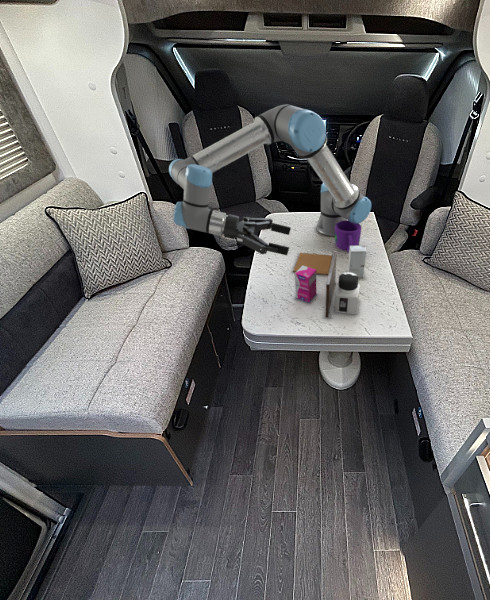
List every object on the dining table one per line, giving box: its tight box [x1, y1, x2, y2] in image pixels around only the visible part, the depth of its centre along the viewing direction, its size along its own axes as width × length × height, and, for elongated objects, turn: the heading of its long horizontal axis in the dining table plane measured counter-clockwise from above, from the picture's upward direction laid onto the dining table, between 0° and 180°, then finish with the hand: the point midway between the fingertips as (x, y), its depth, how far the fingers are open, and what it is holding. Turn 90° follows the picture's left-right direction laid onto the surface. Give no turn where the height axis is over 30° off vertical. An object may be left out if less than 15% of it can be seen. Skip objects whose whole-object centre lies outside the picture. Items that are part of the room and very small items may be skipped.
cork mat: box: [292, 252, 333, 276], centre depth 141 cm, size 14×14×1 cm
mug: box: [334, 220, 362, 254], centre depth 147 cm, size 17×11×10 cm, turn 3°
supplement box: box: [294, 265, 317, 304], centre depth 121 cm, size 6×6×12 cm
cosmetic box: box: [347, 245, 367, 279], centre depth 132 cm, size 6×4×12 cm
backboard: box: [324, 251, 338, 319], centre depth 119 cm, size 20×1×14 cm, turn 171°
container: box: [333, 272, 361, 315], centre depth 116 cm, size 8×8×13 cm
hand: (289, 240), depth 115 cm, fingers open, 13 cm apart
